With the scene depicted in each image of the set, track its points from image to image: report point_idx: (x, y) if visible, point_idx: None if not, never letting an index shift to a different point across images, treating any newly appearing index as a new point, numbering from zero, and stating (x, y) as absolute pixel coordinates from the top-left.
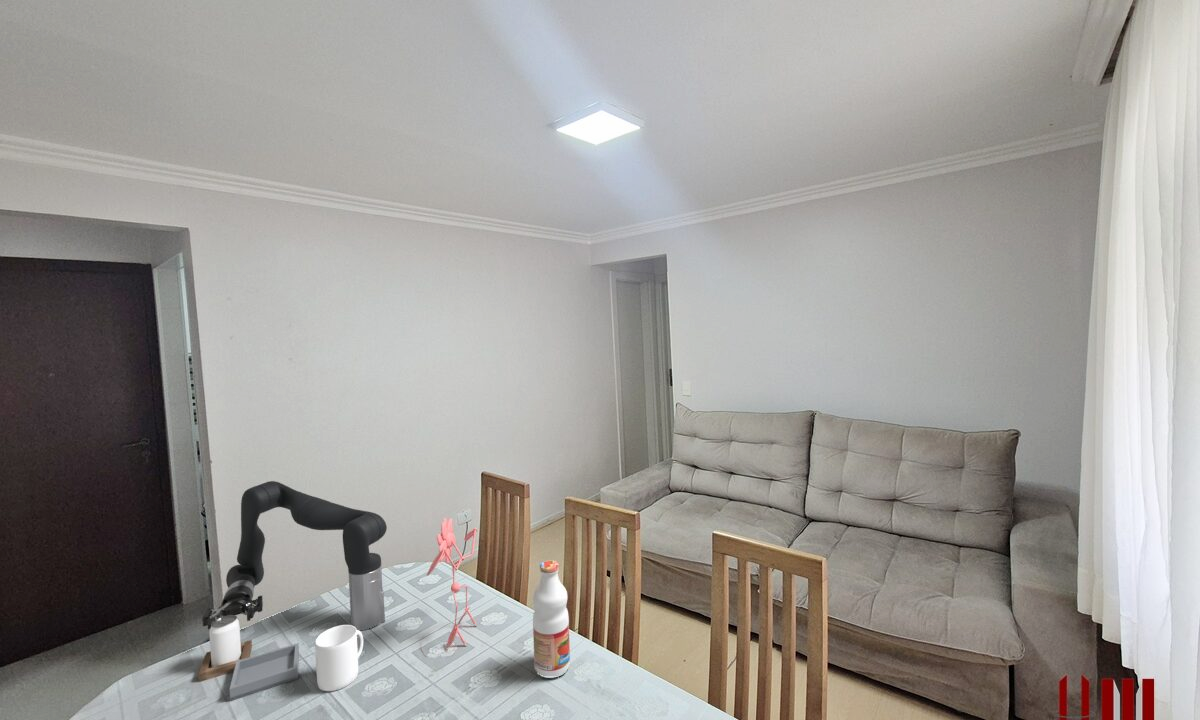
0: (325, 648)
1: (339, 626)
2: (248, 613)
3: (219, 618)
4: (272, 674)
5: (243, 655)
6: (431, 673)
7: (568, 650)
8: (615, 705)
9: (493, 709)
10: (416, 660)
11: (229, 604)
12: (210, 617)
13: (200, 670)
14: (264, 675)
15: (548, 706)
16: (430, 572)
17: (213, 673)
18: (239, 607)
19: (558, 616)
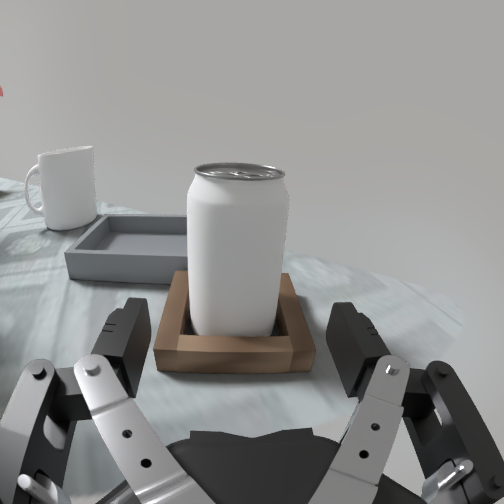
0: (88, 147)
1: (46, 155)
2: (135, 298)
3: (265, 177)
4: (140, 215)
5: (183, 287)
6: (18, 205)
7: None
8: (7, 180)
9: (34, 185)
10: (7, 216)
11: (319, 483)
12: (396, 358)
13: (290, 282)
14: (148, 245)
15: (19, 183)
16: (2, 92)
17: None
18: (193, 433)
19: None
